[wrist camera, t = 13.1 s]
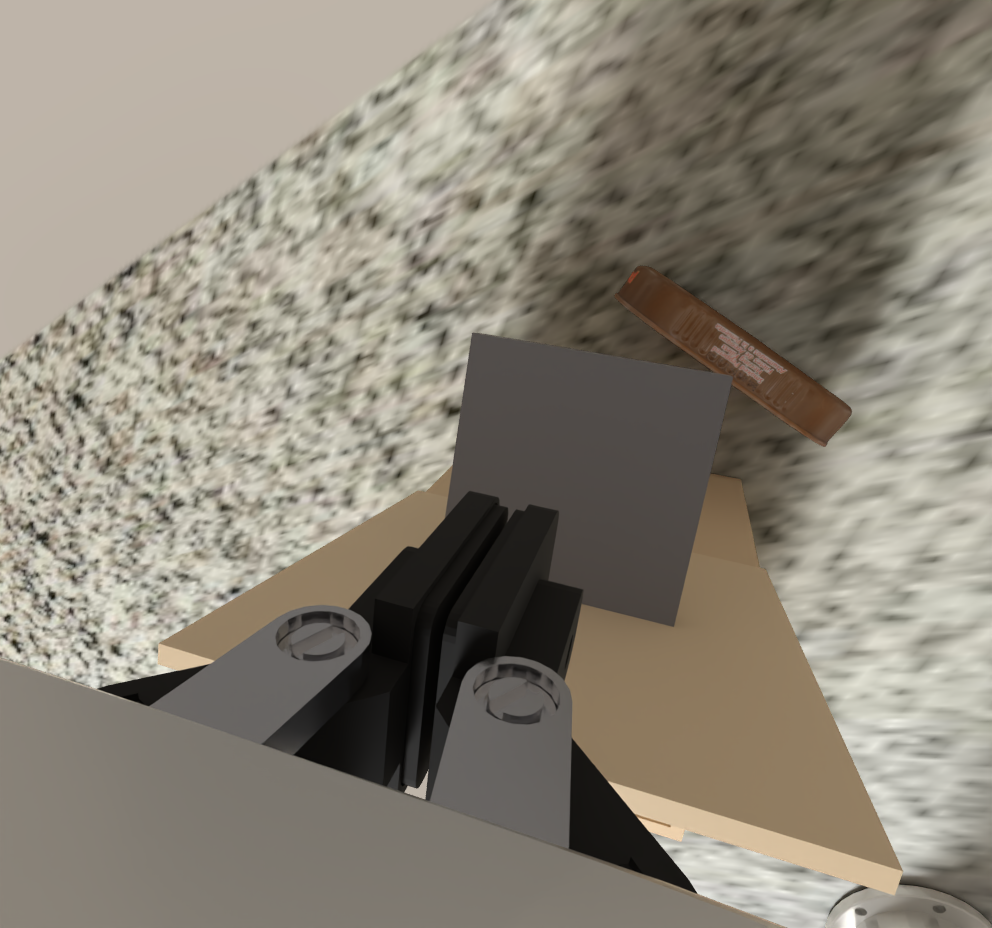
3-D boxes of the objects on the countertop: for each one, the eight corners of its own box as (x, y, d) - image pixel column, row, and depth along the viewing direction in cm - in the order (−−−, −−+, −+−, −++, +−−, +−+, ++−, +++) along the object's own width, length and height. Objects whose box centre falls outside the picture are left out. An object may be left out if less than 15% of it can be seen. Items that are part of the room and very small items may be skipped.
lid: (894, 895, 14) (1051, 445, 11) (157, 663, 17) (176, 294, 15) (762, 580, 32) (814, 384, 30) (416, 501, 35) (441, 322, 33)
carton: (682, 689, 51) (681, 841, 38) (465, 631, 55) (397, 751, 42) (741, 479, 45) (762, 578, 32) (489, 428, 48) (418, 499, 36)
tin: (617, 294, 43) (602, 307, 35) (647, 251, 42) (638, 256, 34) (806, 428, 42) (832, 471, 35) (842, 389, 41) (878, 426, 33)
